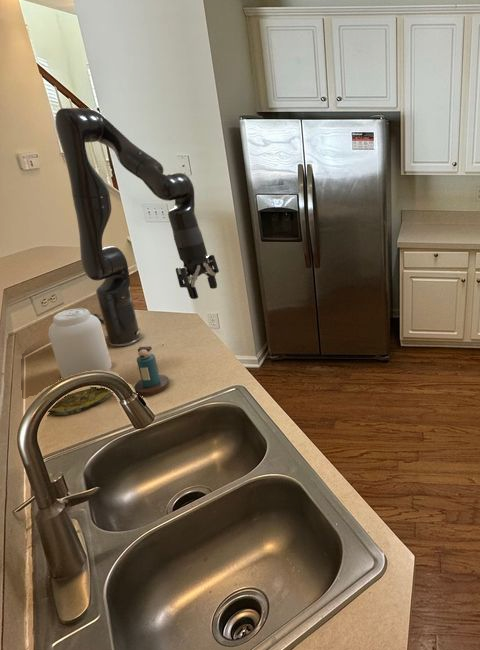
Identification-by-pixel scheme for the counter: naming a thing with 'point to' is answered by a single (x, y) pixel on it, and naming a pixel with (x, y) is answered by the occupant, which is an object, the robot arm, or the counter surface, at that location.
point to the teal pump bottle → (147, 367)
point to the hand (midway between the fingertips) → (204, 293)
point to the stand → (154, 389)
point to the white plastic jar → (78, 342)
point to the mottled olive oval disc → (80, 401)
